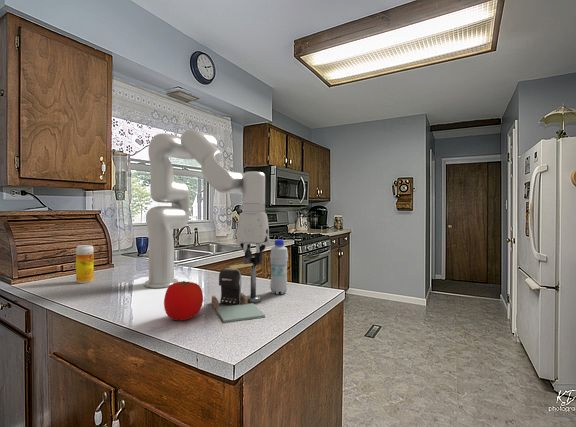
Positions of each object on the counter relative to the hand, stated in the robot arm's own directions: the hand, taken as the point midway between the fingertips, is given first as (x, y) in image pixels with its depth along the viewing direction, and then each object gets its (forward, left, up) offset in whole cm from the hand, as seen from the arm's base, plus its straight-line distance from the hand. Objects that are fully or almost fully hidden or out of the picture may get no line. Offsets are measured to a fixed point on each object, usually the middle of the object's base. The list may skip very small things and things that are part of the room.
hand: (253, 263), depth 106 cm
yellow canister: (-50, -57, -13) cm, 77 cm away
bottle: (-7, +12, -13) cm, 19 cm away
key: (+1, -3, -11) cm, 12 cm away
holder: (0, -8, -13) cm, 15 cm away
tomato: (+8, -23, -13) cm, 28 cm away
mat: (+9, -7, -13) cm, 17 cm away
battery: (0, -8, -13) cm, 15 cm away
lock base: (0, 0, -13) cm, 13 cm away
